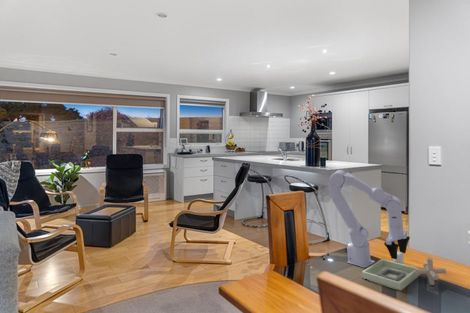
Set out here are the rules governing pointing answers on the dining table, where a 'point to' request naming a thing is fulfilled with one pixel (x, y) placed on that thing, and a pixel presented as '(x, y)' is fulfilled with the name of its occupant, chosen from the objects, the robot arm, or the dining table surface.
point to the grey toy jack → (431, 271)
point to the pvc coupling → (399, 258)
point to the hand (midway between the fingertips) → (398, 255)
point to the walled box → (391, 274)
